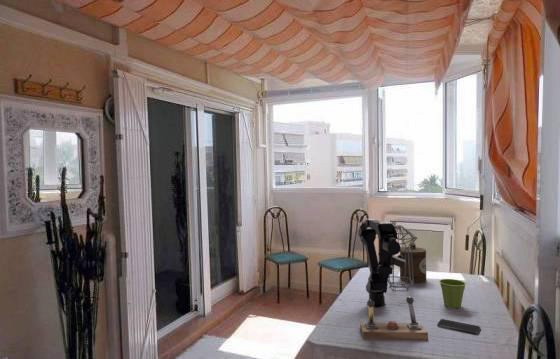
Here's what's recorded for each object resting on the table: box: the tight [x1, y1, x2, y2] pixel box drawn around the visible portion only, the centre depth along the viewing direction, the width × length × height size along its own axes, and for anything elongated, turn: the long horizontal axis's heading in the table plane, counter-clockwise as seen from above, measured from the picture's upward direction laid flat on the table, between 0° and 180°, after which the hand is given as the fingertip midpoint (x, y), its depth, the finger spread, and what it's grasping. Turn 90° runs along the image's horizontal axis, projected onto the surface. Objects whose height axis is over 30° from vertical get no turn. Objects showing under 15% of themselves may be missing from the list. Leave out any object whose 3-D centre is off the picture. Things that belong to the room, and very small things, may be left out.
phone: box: [436, 318, 481, 336], centre depth 151 cm, size 8×1×15 cm
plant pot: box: [438, 278, 467, 309], centre depth 176 cm, size 12×12×11 cm
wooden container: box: [399, 242, 427, 284], centre depth 221 cm, size 15×15×22 cm
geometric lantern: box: [387, 224, 418, 292], centre depth 203 cm, size 16×16×35 cm
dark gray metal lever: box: [366, 299, 376, 325], centre depth 146 cm, size 3×3×11 cm
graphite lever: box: [405, 296, 419, 325], centre depth 147 cm, size 3×3×11 cm
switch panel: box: [359, 320, 429, 340], centre depth 146 cm, size 9×24×4 cm, turn 86°
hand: (385, 285), depth 167 cm, fingers closed
